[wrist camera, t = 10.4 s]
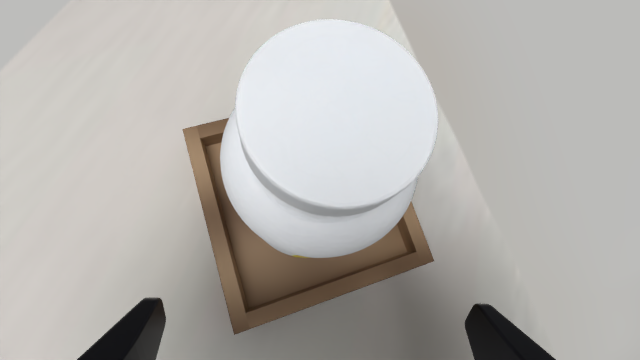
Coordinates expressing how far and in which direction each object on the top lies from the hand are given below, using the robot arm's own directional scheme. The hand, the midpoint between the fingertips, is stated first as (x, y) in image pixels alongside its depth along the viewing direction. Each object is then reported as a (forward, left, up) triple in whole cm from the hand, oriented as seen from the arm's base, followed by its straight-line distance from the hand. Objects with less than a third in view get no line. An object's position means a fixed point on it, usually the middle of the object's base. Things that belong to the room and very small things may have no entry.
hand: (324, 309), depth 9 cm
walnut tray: (+5, -2, -10) cm, 11 cm away
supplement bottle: (+4, -2, -10) cm, 11 cm away
